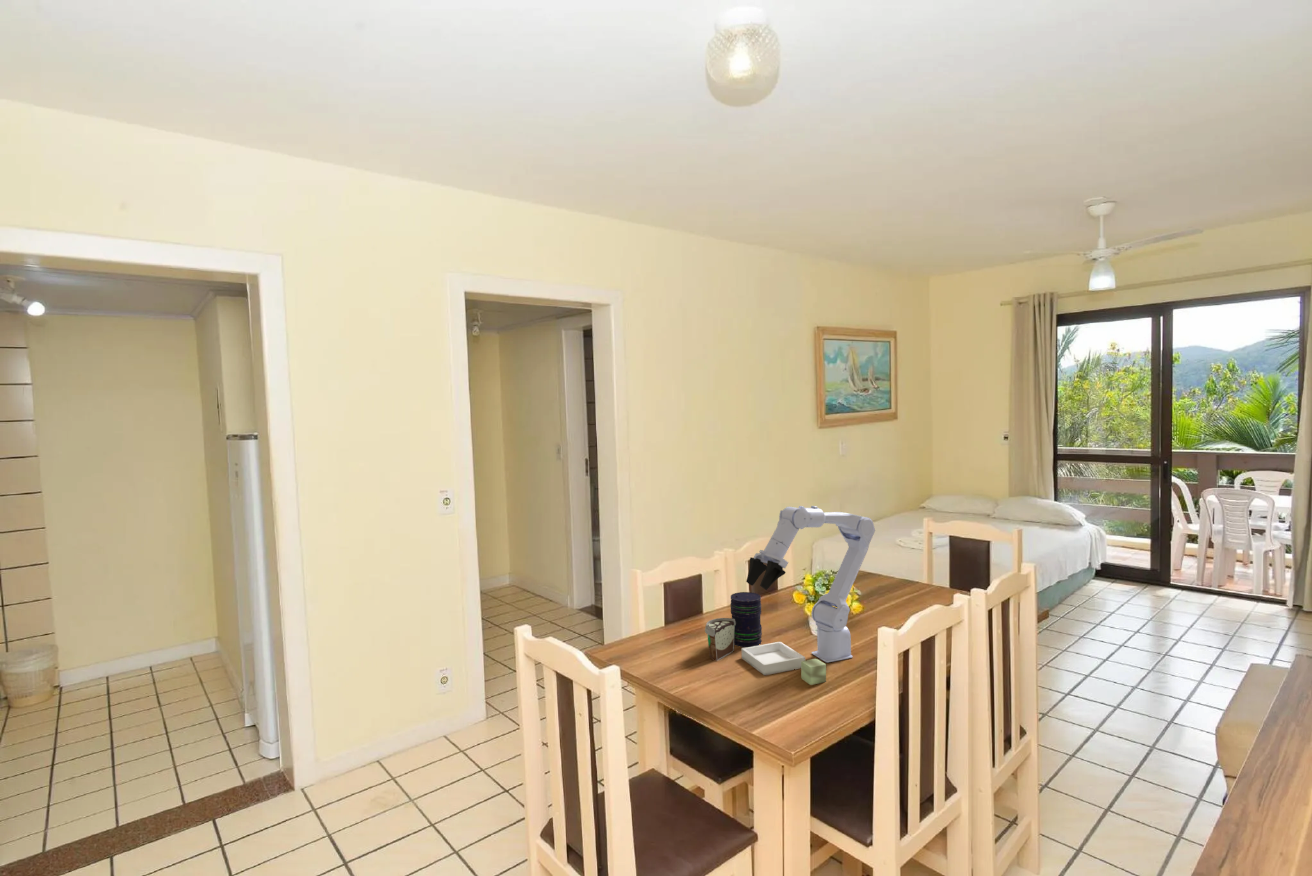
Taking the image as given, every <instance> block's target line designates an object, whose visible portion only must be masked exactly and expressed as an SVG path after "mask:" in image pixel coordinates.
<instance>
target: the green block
mask: <svg viewBox="0 0 1312 876" xmlns="http://www.w3.org/2000/svg"><path fill="white" fill-rule="evenodd" d="M800 669H801V670H800V672H801V675H800V676H801V678H800V679H802V680H803V681H804V682H805V683H807V684H808V685H810V686H813V685H816V684H817V685H818V684H821V683H822V684H823V683H827V664H826V662H825V663H824V662H823V661H821V659H818V658H812V659H807V660H806V659H805V661H801V668H800Z"/></svg>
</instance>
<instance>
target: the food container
mask: <svg viewBox="0 0 1312 876" xmlns="http://www.w3.org/2000/svg"><path fill="white" fill-rule="evenodd" d="M735 625H736V623H735V619H732V617H731V618H729V617H720V618H719V617H718V618H714V619H710V620H708V621H707V622H706V624H705V629H704V632H705V634H706V636H707V644H708V646H707V647H708V654H709V658H710V659H711V660H714V661H716V662H718V661H720V660H721V659H723V658H725V657H727V656H728V655H730V654H732V653H734V652H733V651H735V645H734V630H735Z"/></svg>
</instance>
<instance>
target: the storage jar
mask: <svg viewBox="0 0 1312 876" xmlns="http://www.w3.org/2000/svg"><path fill="white" fill-rule="evenodd" d="M730 614H731V618H732V619H735V623H736V625H735V630H734V646H736V647H739V646H740V648H747V647H753V646H758V645H759V644H760V645H762V643H761V642H762V641H763V640H762V635H763V633H762V632H763V630H762V629H763V627H762V625H761V615H762V597H761V595H760V594H759V593H754V592H749V591H740V592H734V593H732V594H731V595H730Z"/></svg>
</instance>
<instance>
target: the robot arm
mask: <svg viewBox="0 0 1312 876" xmlns="http://www.w3.org/2000/svg"><path fill="white" fill-rule="evenodd" d="M778 519H779V520H778V522H777V526H776V528H775V529H774V532H773V534H772V535H771V536H770V539H769V540H768V542H767V544H766V546H765V548H764V550H763V549H760V550H759V553H758V552H756V553H755V554H754V556H753V557H750V558H749V568H748V573H747V577H746V581H745V582H746V583H747V584H748V585H750V586H751V587H752V586H754V585H755V583H756V582H757V581H758V579H759V578H760V577H761V575H762V574H763V573H764V575H763V577H762V579H761V581H760V585H759V586H760V588H763V589H764V590H765V591H767V590H768V589H770V587H771V586H772V585H773V584H774V583H775V582H776V581H777V580H778V579H779V578H781V577H782V576H783V575H785V574H786V571H785V570H784V569H786V568H787V566H788V564H789V561H787V560H786V559H784V557H785V556H786V554H787V552H788V551H789V548H790V546H791V544H792V543H793V542H794V539H795V537H796V536H797V534H798V532H799V530H804V529H806V528H821V527H822V526H823V525H824V524H829V525H831V524H833V525H835V526H836V527H837V530H838V531H839V533H840V534H841V536H842V538H843V539H844V541H845V542H846V543H847V546H848V547H847V551H846V553H845V555H844V557H843V559H842V562H841V564H840V566H839V568H838V570H837V573H836V574H835V577H834V579H833V582H832V584H831V586H830V588H829V591H828V592H827V593H825V594H823V595H821V596H820V597H819V598H818V600H817V602H816V603H815V604H814V605H813V607H812V609H811V618H812V621H814V622H815V626H816V627H817V629H816V631H817V632H816V633H817V635H816V637H817V640H816V642H817V650H815V651H811V654H812V655H814V656H815V657H817V659H818V658H819V660H820V661H821V660H822V662H823V661H824V662H825V663H831V662H832V663H833V662H838V661H843V660H847V659H852V658H853V655H852V640H851V637H852V635H851V632H850V629H849V628H848V626H847V624H848V621H849V613H850V610H851V609H850V607H849V605H848V603H847V599H848V596H849V595H850V592H851V590H852V588H853V585H854V583H855V581H856V578H857V576H858V573H859V572H860V570H861V567H862V564H863V562H864V560H865V558H866V556H867V553H868V551H869V547H870V543H871V541H872V539H873V536H874V534H875V532H876V529H875V524H874V521H873V519H871V517H869V516H862V515H858V514H853V513H848V512H844V511H843V512H842V511H829V512H828V511H826V512H825V511H823V509H822V508H819V507H818V505H811V506H810V507H805V506H803V505H799V506H798V507H793V506H786V507H785V508H784V509H783V510H780V512H779V515H778ZM765 564H766V565H765Z"/></svg>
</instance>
